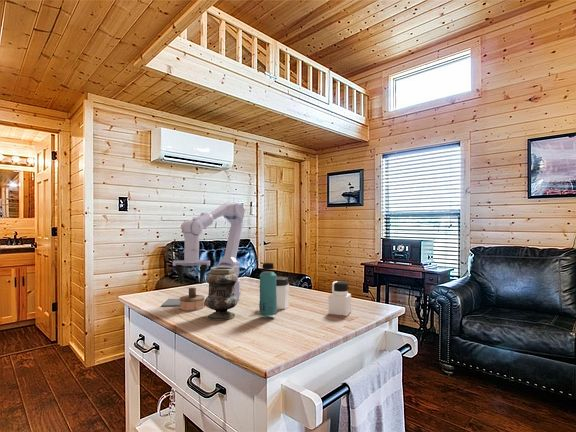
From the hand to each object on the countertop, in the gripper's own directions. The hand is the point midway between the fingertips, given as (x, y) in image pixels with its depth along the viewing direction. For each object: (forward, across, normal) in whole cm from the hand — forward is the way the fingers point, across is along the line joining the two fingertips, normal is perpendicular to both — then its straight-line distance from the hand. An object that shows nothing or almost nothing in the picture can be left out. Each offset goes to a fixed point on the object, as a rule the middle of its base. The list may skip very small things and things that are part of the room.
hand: (191, 283), depth 134 cm
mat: (+10, -7, +9) cm, 15 cm away
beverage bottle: (+10, +31, -16) cm, 36 cm away
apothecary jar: (+10, +14, -13) cm, 22 cm away
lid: (+6, 0, 0) cm, 6 cm away
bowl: (+10, 0, 0) cm, 10 cm away
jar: (+10, +35, -1) cm, 37 cm away
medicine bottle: (+10, +59, -11) cm, 61 cm away
